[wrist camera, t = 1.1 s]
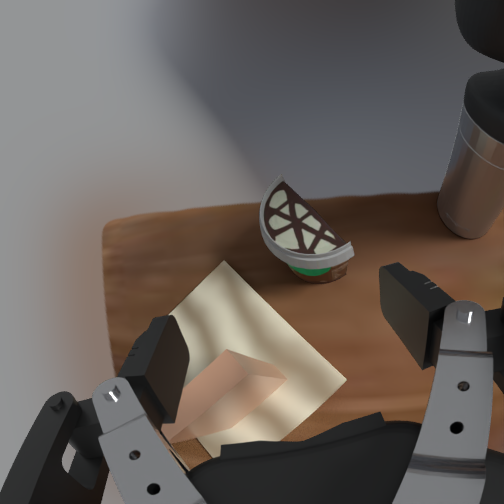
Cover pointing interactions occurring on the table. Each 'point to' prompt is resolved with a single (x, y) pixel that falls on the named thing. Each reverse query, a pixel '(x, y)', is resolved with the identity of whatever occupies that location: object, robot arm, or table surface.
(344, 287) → the table surface
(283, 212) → the food container
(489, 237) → the table surface
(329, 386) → the board
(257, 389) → the tile
